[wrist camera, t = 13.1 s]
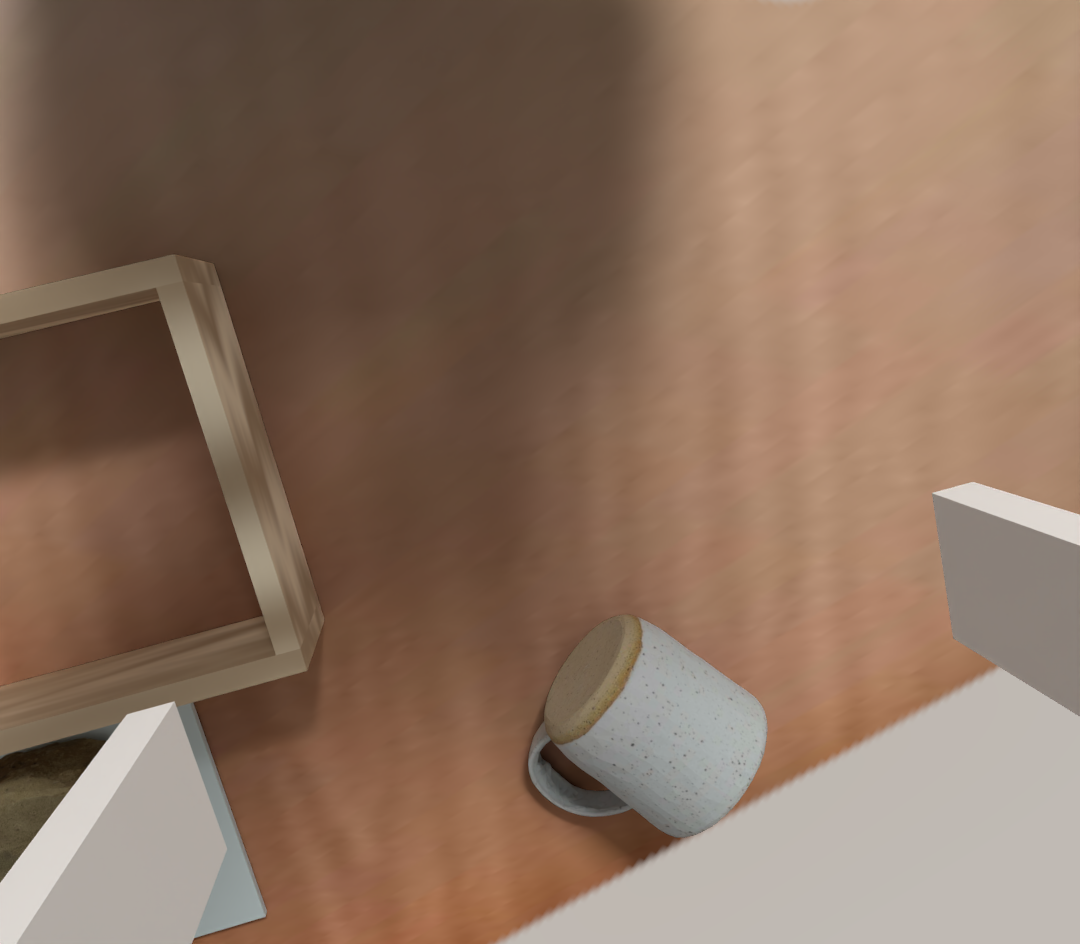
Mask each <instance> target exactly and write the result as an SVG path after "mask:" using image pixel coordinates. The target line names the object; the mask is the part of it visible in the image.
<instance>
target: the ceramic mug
mask: <svg viewBox="0 0 1080 944" xmlns="http://www.w3.org/2000/svg"><path fill="white" fill-rule="evenodd" d="M766 738H767V719H766V715H765V712H764V709H763V707H762V706H761V704H760V703H759V702H758V700H757V699H756V698H755V697H754V696H753V695H751V694H750V693H749V692H748V691H746V690H745V689H743V688H742V687H740V686H739V685H737V684H736V683H734V682H733V681H732V680H730V679H729V678H727V677H726V676H725V675H723V674H722V673H721V672H719V671H718V670H717V669H715V668H714V667H713V666H711V665H710V664H709V663H707V662H706V661H705V660H703V659H702V658H700V657H699V656H697V655H695V654H694V653H692V652H691V651H690V650H688V649H687V648H686V647H684V646H683V645H682V644H680V643H679V642H678V641H676V640H675V639H674V638H672V637H671V636H670V635H668V634H667V633H666V632H664V631H663V630H661V629H660V628H658V627H656V626H655V625H653V624H651V623H649V622H647V621H645V620H643V619H641V618H639V617H636V616H633V615H619V616H615V617H612V618H610V619H607V620H605V621H603V622H601V623H600V624H599V625H597V626H596V627H595V628H593V629H592V630H591V631H590V632H589V633H588V634H587V635H586V636H585V637H584V638H583V639H582V640H581V641H580V642H579V644H578V645H577V646H576V648H575V649H574V650H573V651H572V652H571V654H570V655H569V656H568V658H567V660H566V661H565V663H564V664H563V666H562V667H561V669H560V670H559V672H558V674H557V676H556V678H555V680H554V682H553V684H552V687H551V689H550V691H549V694H548V696H547V701H546V705H545V709H544V722H543V723H542V724H541V726H540V727H539V729H538V730H537V732H536V734H535V735H534V738H533V741H532V744H531V748H530V752H529V759H528V767H529V774H530V777H531V780H532V782H533V784H534V785H535V787H536V788H537V789H538V790H539V791H540V793H541V794H542V795H543V796H544V797H545V798H547V799H548V800H549V801H550V802H552V803H553V804H554V805H556V806H558V807H559V808H561V809H563V810H566V811H568V812H571V813H574V814H577V815H582V816H591V817H596V816H609V815H614V814H618V813H622V812H625V811H628V810H630V809H632V808H633V809H634V810H636V811H637V812H638V813H639V814H641V815H642V816H643V817H644V818H645V819H646V820H648V821H649V822H650V823H651V824H653V825H654V826H655V827H657V828H658V829H659V830H661V831H663V832H664V833H666V834H669V835H671V836H674V837H676V838H678V837H688V836H693V835H696V834H698V833H701V832H703V831H704V830H706V829H708V828H710V827H712V826H713V825H715V824H716V823H717V822H718V821H719V820H721V819H722V818H723V817H724V816H725V815H726V814H727V813H728V812H729V811H730V810H731V809H732V808H733V807H734V806H735V805H736V803H737V802H738V801H739V800H740V799H741V797H742V795H743V794H744V792H745V791H746V790H747V788H748V786H749V785H750V783H751V781H752V780H753V778H754V776H755V774H756V772H757V770H758V768H759V766H760V763H761V760H762V757H763V754H764V750H765V745H766ZM550 740H552V742H553V743H554V744H555V745H556V746H557V747H558V748H559V749H560V750H561V751H562V753H563V754H564V755H565V756H566V757H567V758H568V759H569V760H570V761H572V762H573V763H574V764H575V765H577V766H578V767H579V768H581V769H582V770H583V771H585V772H586V773H588V774H589V775H591V776H592V777H594V778H595V779H596V780H598V781H599V782H601V783H602V784H603V785H604V786H605V787H607V788H608V789H609V790H605V791H594V790H584V789H581V788H579V787H576V786H573V785H572V784H570V783H569V782H568V781H566V780H565V779H564V778H563V777H562V776H560V775H559V774H558V773H557V772H556V771H555V770H554V769H553V768H552V767H551V764H550V763H548V762H547V761H545V760H544V759H542V757H541V754H540V751H541V750H542V748H543V747H544V746H545V744H546V743H548V742H549V741H550Z"/></svg>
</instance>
